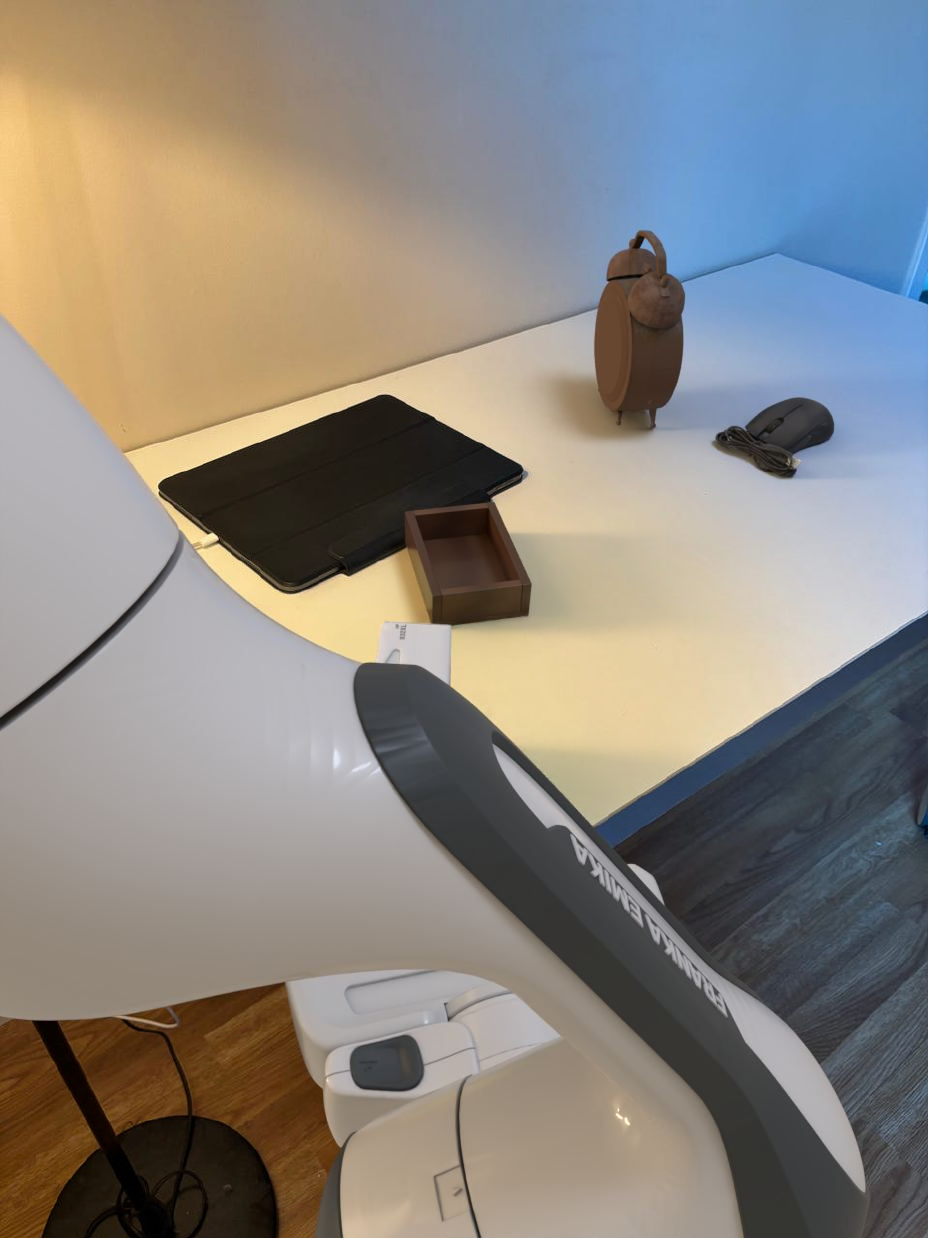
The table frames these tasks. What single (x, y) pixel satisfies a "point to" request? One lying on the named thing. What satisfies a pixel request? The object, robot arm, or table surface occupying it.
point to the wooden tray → (466, 564)
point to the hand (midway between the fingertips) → (449, 839)
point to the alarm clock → (639, 330)
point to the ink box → (417, 646)
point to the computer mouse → (781, 433)
